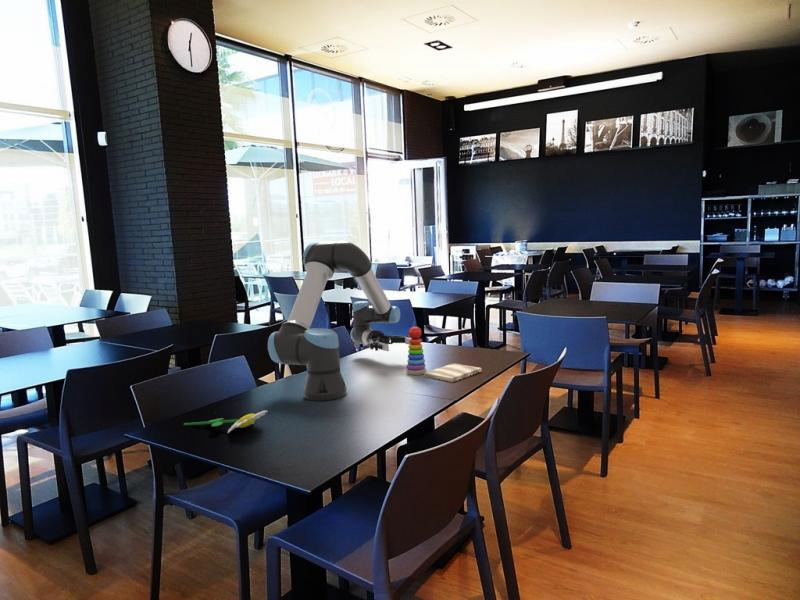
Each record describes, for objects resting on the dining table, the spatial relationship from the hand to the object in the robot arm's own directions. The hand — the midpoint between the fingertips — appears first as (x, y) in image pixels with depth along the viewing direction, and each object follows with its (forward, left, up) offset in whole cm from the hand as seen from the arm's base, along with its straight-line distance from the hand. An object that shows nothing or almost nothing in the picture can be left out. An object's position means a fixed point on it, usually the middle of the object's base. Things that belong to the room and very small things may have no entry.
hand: (401, 345), depth 227 cm
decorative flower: (-82, -5, -10) cm, 83 cm away
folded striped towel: (+5, -22, -10) cm, 25 cm away
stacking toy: (-2, -9, -10) cm, 14 cm away
